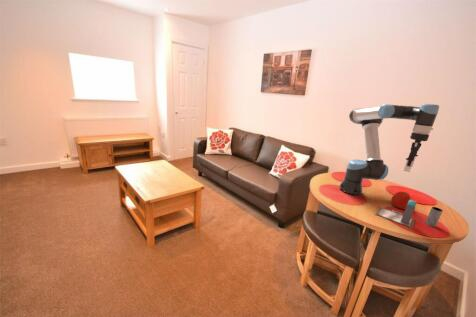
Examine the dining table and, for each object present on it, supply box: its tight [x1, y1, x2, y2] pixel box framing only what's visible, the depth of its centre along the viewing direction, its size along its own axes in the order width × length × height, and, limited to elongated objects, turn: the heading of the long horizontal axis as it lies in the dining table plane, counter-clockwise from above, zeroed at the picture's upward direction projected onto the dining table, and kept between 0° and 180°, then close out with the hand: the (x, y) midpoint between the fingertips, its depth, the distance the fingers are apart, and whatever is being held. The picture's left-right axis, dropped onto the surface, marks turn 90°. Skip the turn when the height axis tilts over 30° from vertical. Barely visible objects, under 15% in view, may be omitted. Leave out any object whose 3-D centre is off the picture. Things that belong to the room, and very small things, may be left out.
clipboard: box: [374, 206, 416, 230], centre depth 124 cm, size 18×13×1 cm
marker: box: [401, 199, 418, 225], centre depth 116 cm, size 4×4×14 cm
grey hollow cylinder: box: [425, 206, 443, 228], centre depth 117 cm, size 4×4×10 cm
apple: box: [390, 191, 412, 210], centre depth 135 cm, size 10×10×10 cm
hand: (407, 168), depth 121 cm, fingers open, 13 cm apart
